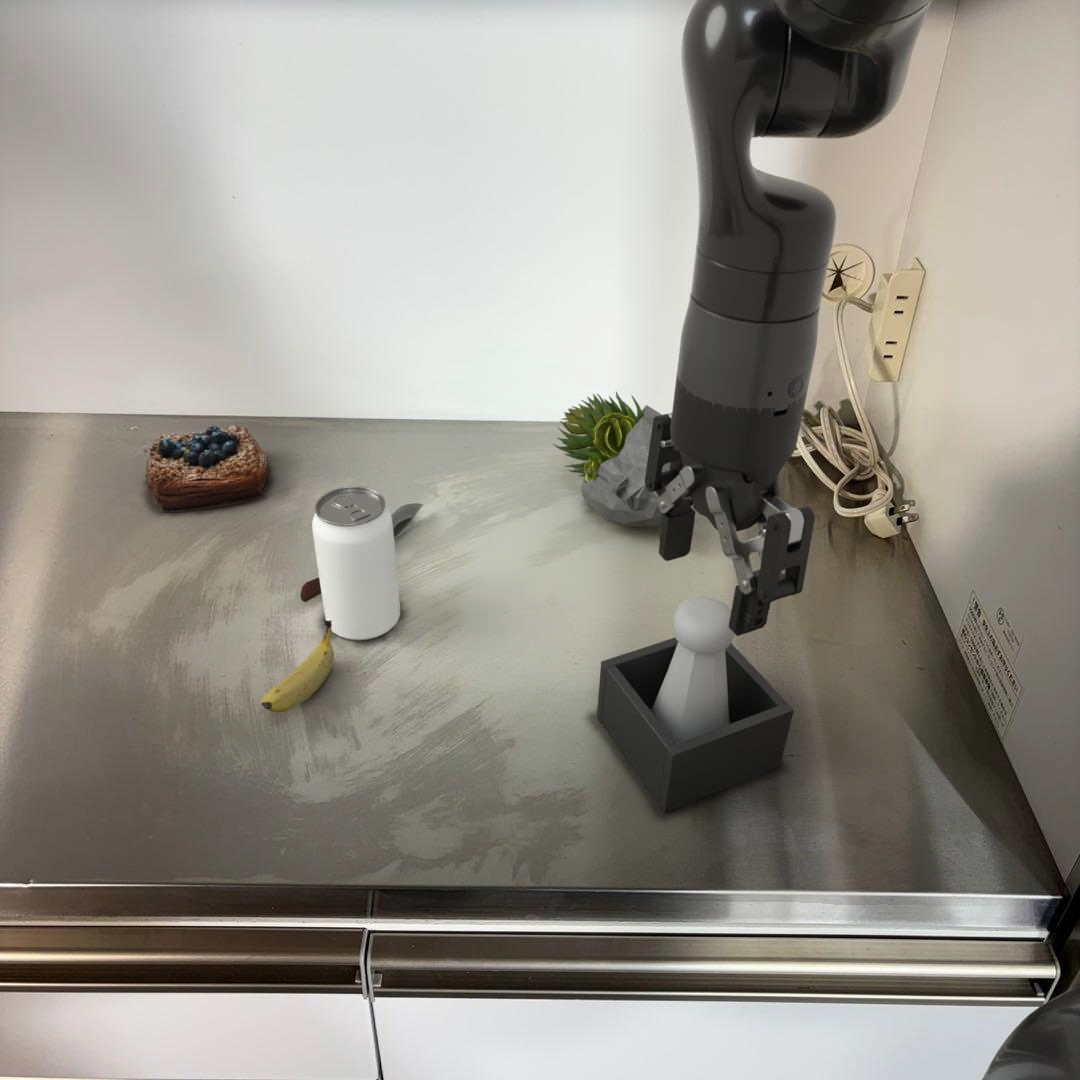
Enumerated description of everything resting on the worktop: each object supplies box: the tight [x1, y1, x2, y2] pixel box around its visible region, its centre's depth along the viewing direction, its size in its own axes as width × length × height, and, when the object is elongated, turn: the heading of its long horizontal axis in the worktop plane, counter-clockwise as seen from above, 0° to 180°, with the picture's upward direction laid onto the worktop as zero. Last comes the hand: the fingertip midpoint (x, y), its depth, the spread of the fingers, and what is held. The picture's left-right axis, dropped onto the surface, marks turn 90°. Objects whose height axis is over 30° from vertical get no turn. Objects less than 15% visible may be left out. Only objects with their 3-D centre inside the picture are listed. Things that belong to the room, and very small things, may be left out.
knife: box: [300, 502, 424, 603], centre depth 91 cm, size 18×2×3 cm, turn 151°
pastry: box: [145, 424, 269, 513], centre depth 101 cm, size 11×12×6 cm
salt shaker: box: [650, 596, 736, 744], centre depth 70 cm, size 6×6×13 cm
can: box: [311, 485, 401, 642], centre depth 81 cm, size 6×6×12 cm
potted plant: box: [552, 391, 671, 528], centre depth 97 cm, size 12×13×15 cm
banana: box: [260, 618, 335, 713], centre depth 76 cm, size 10×2×4 cm, turn 162°
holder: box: [596, 637, 795, 814], centre depth 72 cm, size 10×10×6 cm
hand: (707, 591), depth 65 cm, fingers open, 8 cm apart
